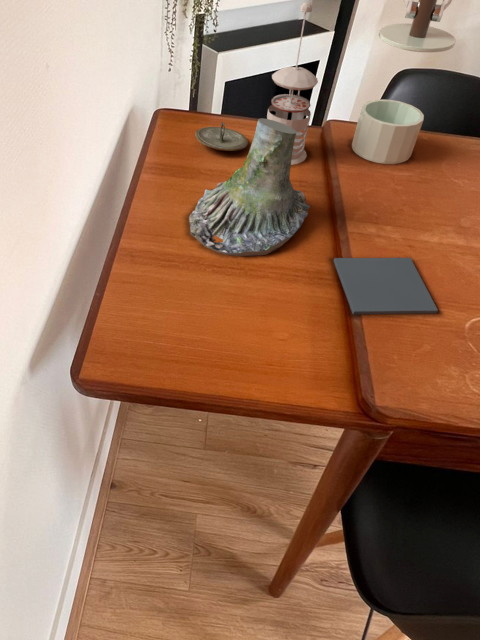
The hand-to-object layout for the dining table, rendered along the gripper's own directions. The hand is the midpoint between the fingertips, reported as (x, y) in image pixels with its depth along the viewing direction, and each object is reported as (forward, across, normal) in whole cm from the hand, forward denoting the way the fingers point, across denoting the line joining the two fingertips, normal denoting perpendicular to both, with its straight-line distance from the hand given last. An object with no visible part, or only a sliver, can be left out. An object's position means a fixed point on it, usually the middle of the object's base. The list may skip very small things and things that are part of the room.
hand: (423, 17), depth 87 cm
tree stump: (+39, -20, -6) cm, 44 cm away
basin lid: (+2, 0, +3) cm, 3 cm away
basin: (+15, 0, +18) cm, 23 cm away
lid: (+22, -31, +11) cm, 39 cm away
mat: (+46, +2, -13) cm, 48 cm away
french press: (+21, -19, +12) cm, 31 cm away
